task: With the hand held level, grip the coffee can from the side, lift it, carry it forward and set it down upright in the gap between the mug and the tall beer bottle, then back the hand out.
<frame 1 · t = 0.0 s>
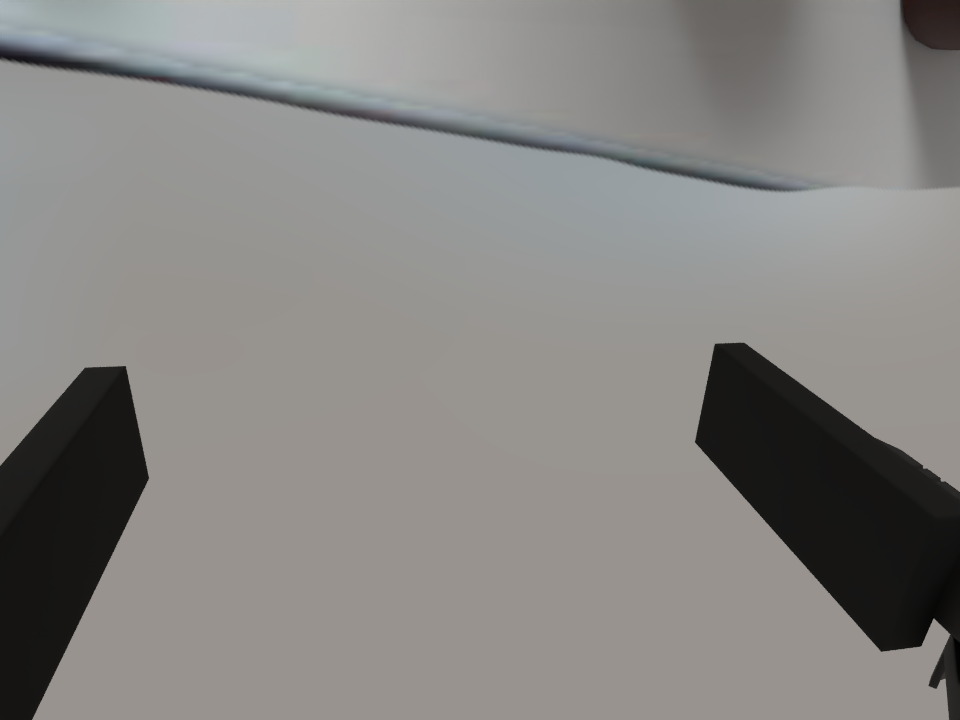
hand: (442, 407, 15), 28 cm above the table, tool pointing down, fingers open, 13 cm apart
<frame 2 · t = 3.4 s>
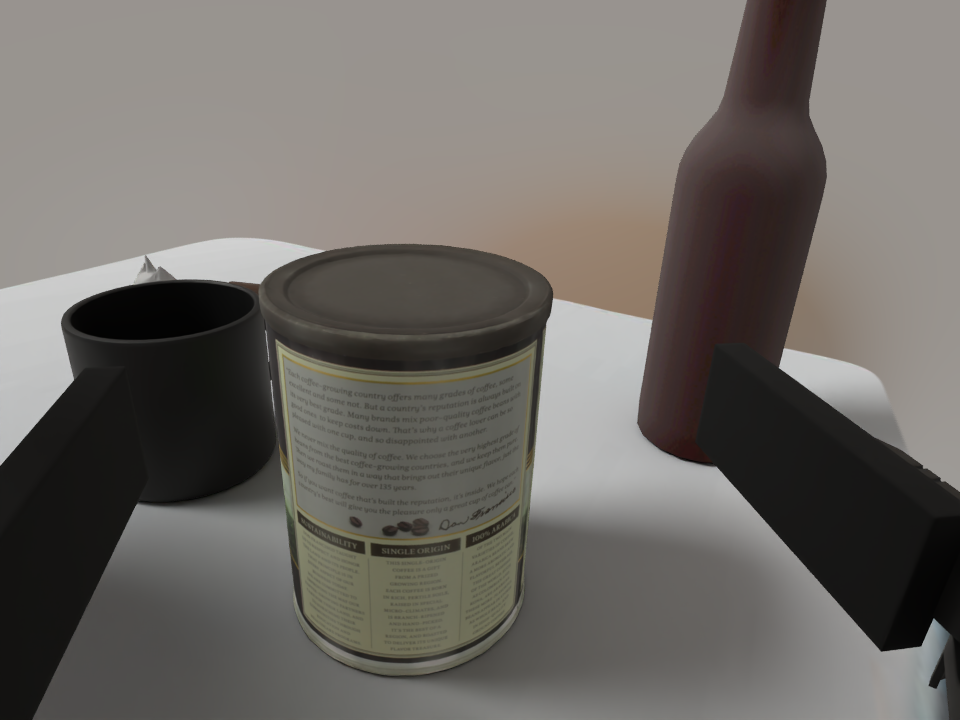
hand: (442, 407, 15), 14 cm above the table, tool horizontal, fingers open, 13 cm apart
white toy figurine: (173, 356, 50), on the table
coffee can: (410, 584, 29), on the table
beer bottle: (694, 436, 42), on the table
mug: (211, 448, 39), on the table
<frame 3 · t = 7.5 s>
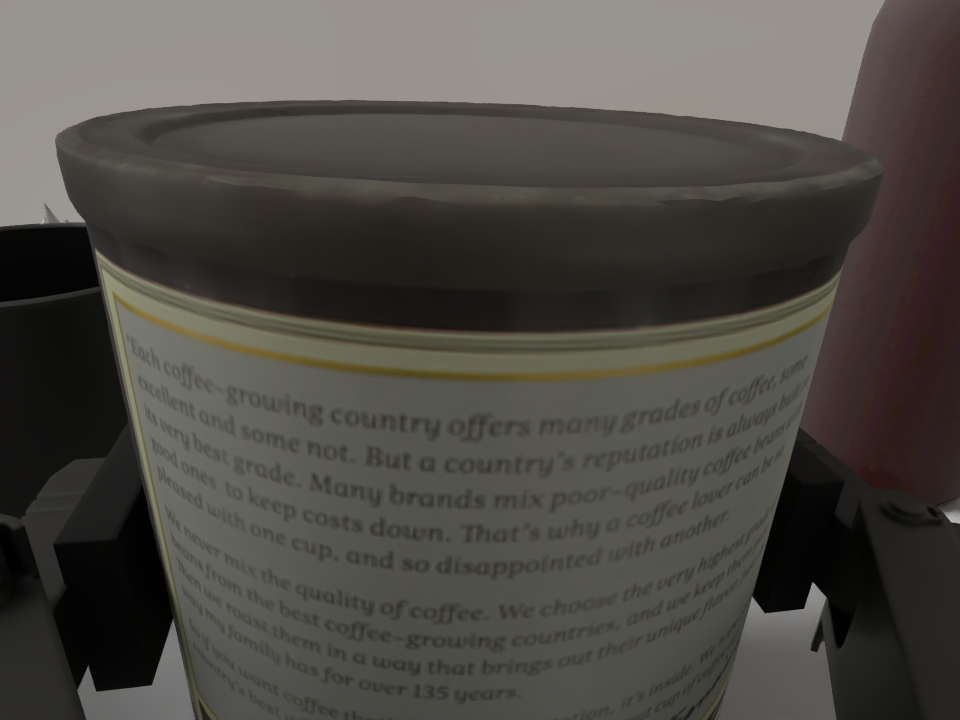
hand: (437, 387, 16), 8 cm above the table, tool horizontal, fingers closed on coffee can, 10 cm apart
beer bottle: (859, 462, 28), on the table
mug: (122, 490, 24), on the table
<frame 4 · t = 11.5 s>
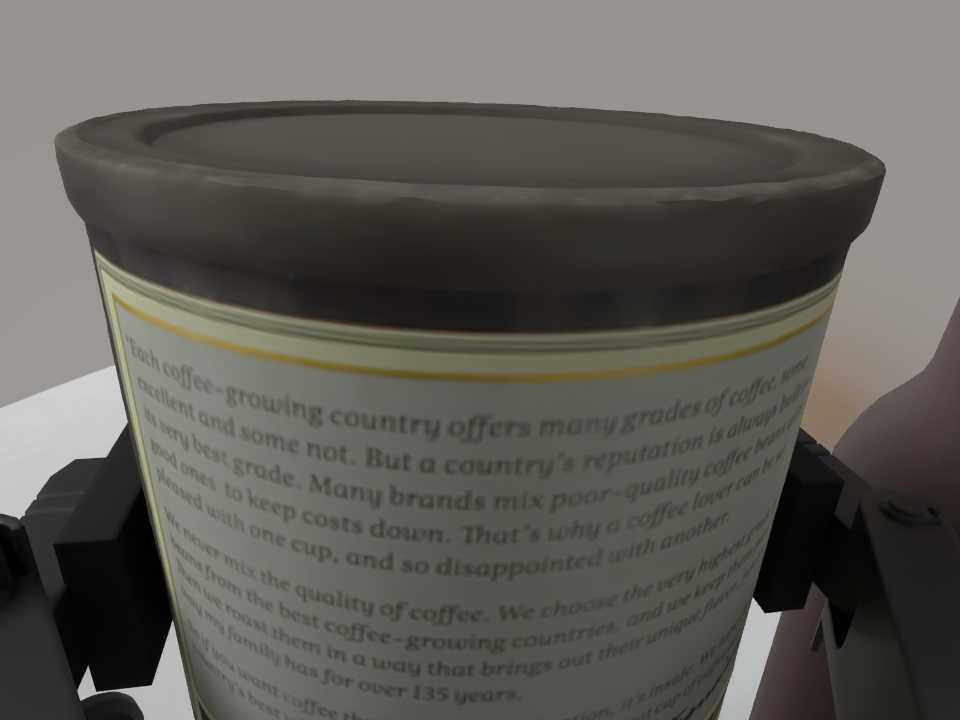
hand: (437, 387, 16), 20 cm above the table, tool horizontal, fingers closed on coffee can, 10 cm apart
when the fingers open (8 cm above the table, at t = 15.8 s): coffee can stays where it is, on the table.
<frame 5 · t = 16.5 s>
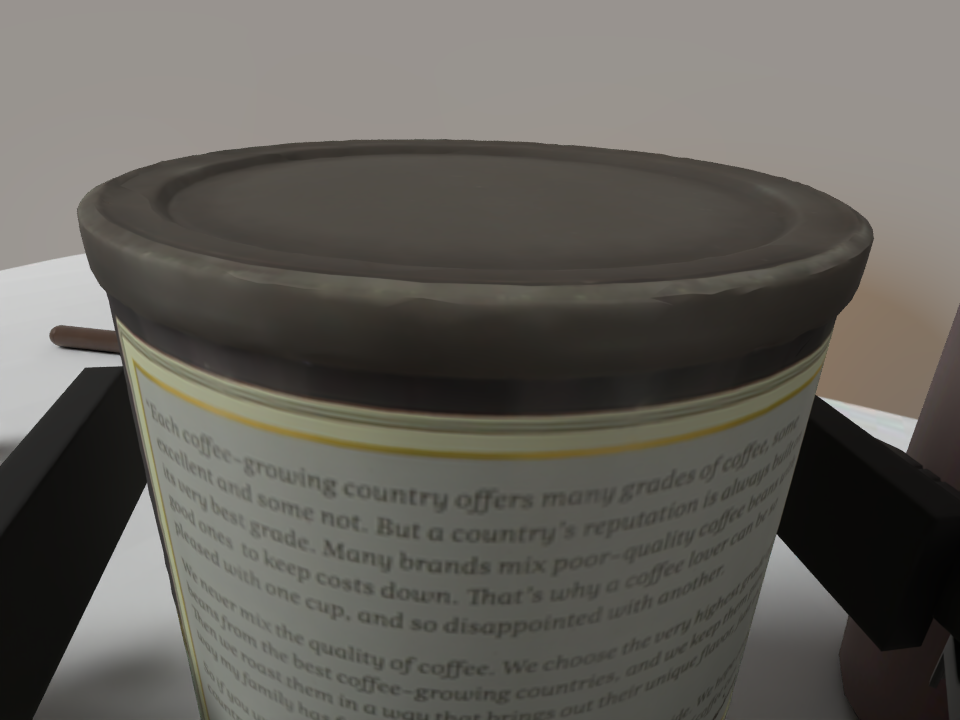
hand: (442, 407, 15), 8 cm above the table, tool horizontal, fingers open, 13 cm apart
wooden spoon: (217, 362, 36), on the table
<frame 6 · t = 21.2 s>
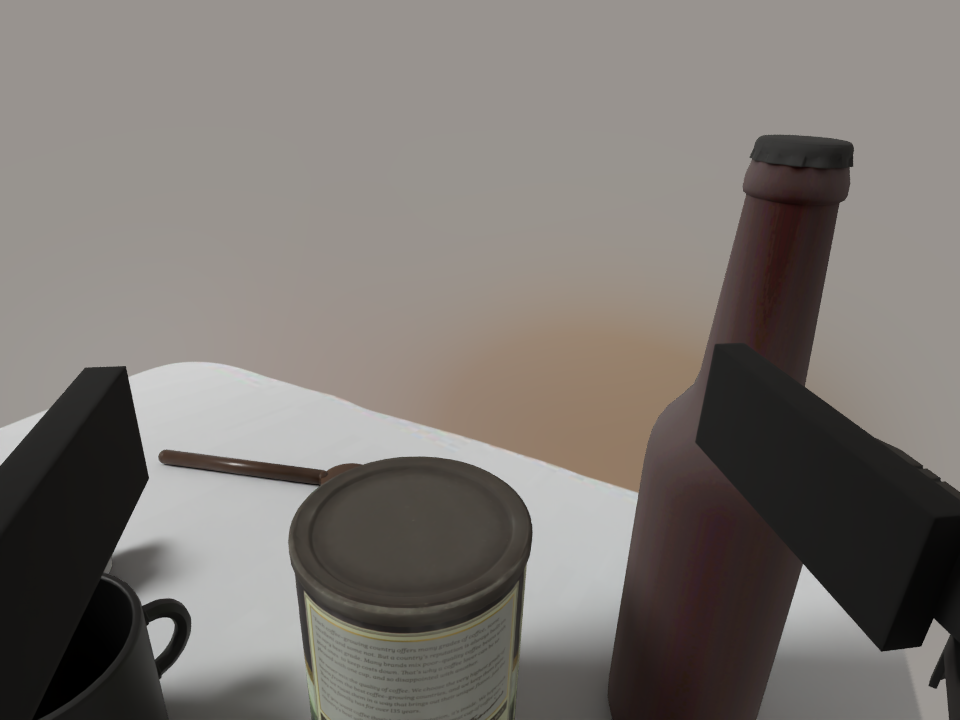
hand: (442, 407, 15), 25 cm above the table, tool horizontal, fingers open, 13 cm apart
wooden spoon: (271, 476, 55), on the table
beer bottle: (674, 714, 36), on the table
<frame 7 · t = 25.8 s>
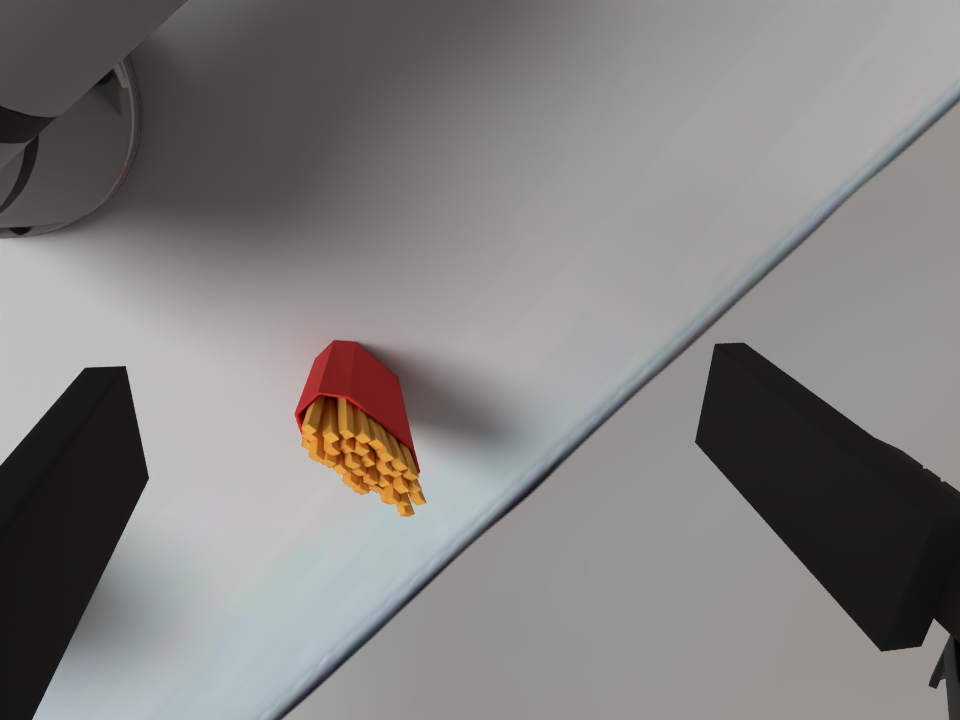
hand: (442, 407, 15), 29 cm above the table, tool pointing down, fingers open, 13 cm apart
french fries: (361, 378, 46), on the table
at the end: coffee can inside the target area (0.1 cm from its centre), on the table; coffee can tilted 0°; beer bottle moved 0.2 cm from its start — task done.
